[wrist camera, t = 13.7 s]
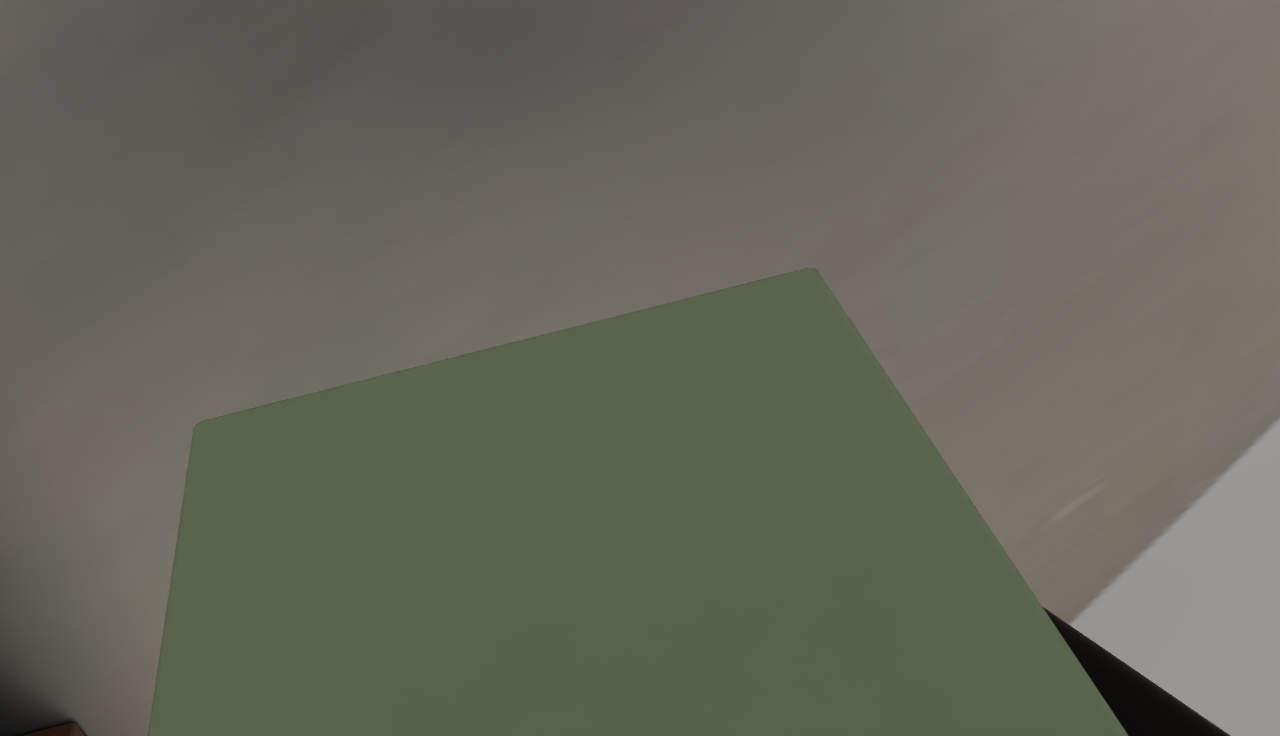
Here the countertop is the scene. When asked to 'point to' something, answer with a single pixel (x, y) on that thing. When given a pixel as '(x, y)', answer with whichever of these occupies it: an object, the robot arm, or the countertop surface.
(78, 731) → the brown wooden box
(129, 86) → the countertop surface
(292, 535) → the block
